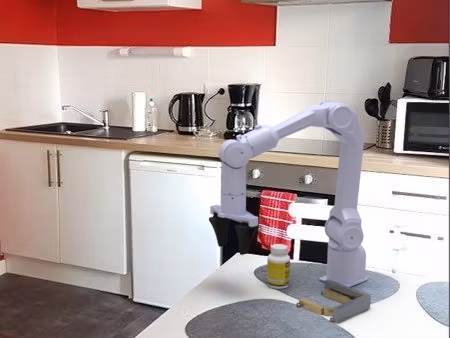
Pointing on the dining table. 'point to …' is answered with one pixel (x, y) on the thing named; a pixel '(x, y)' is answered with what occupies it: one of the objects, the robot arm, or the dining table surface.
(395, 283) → the dining table surface
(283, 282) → the supplement bottle
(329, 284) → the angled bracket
